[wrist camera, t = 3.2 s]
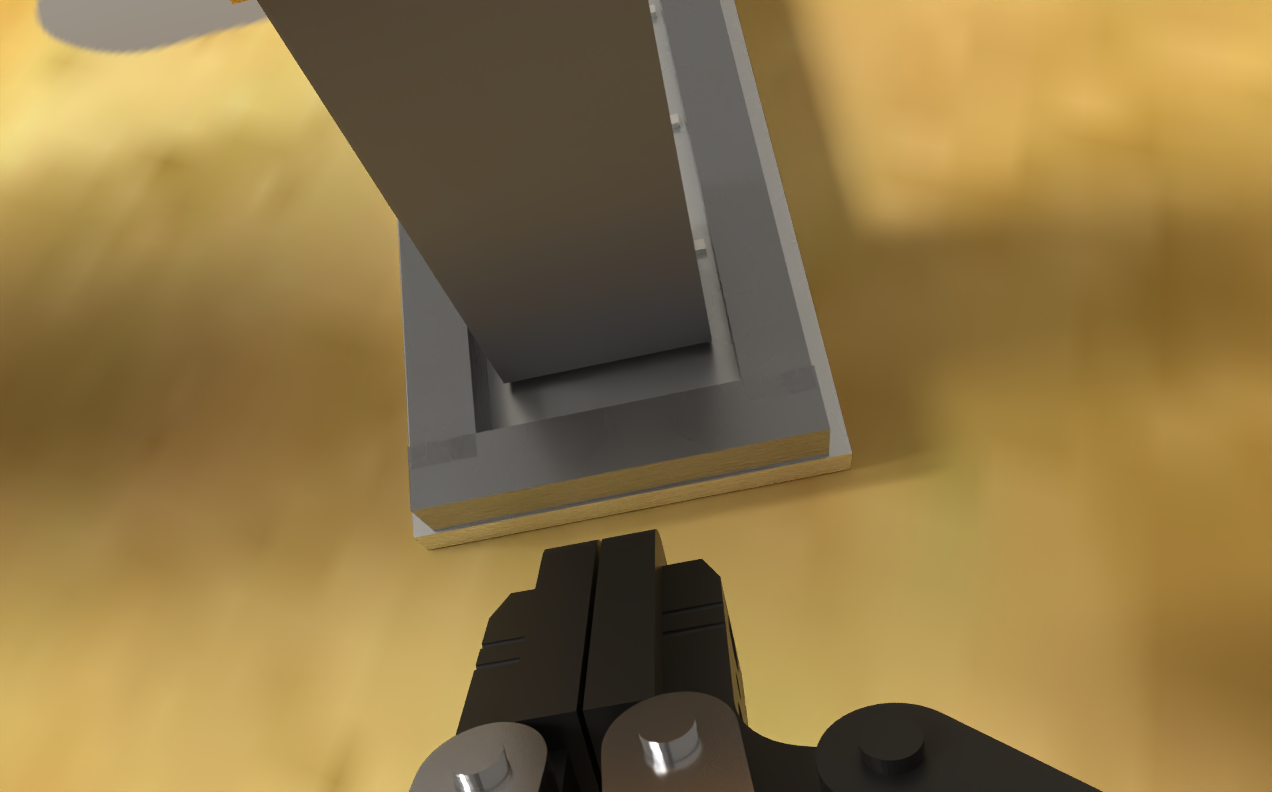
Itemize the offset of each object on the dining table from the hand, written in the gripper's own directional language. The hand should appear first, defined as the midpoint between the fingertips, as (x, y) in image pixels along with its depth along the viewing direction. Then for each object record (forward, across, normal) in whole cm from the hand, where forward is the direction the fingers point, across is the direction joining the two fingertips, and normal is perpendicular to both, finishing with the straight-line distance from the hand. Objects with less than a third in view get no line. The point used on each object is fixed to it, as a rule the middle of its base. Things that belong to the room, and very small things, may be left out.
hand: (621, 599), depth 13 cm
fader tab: (+12, -1, +1) cm, 12 cm away
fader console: (+18, -1, +5) cm, 19 cm away
